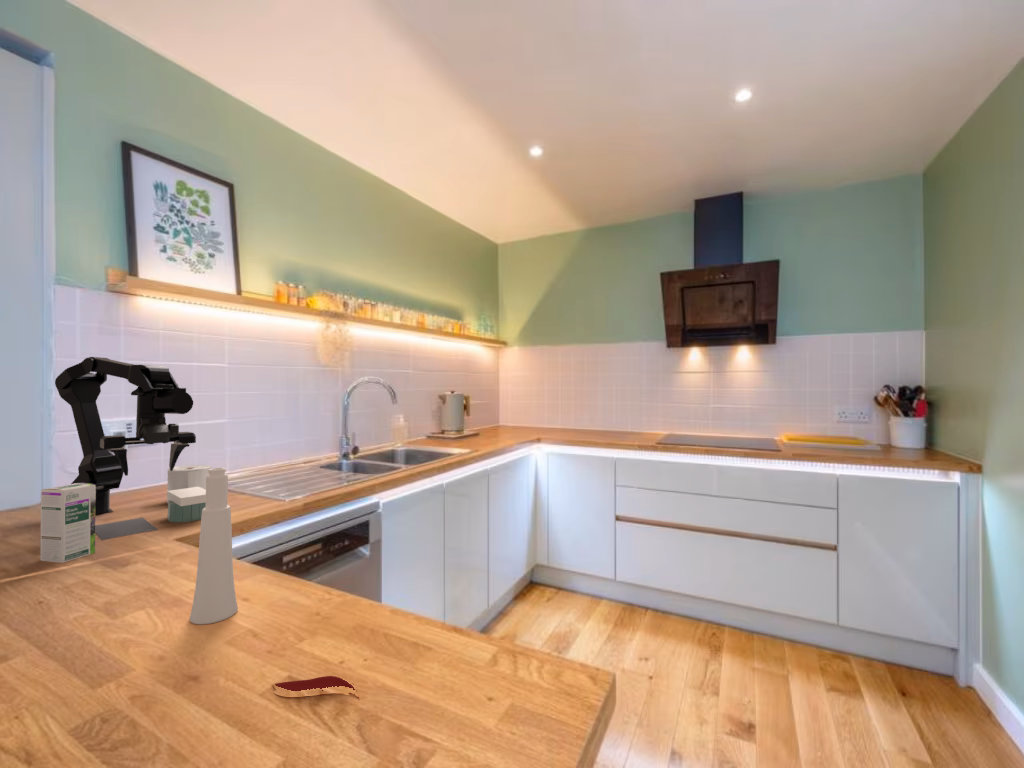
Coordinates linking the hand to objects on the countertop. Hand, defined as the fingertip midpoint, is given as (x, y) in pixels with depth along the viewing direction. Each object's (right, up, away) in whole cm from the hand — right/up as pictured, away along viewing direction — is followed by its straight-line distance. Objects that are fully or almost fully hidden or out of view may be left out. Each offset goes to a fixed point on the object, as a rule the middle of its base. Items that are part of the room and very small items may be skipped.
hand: (149, 473), depth 115 cm
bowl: (+10, -12, 0) cm, 16 cm away
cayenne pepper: (+72, -12, -65) cm, 98 cm away
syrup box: (+6, -12, -27) cm, 30 cm away
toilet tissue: (-3, -12, +19) cm, 23 cm away
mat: (+1, -12, -9) cm, 15 cm away
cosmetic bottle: (+50, -12, -48) cm, 70 cm away
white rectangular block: (+11, -7, 0) cm, 13 cm away
